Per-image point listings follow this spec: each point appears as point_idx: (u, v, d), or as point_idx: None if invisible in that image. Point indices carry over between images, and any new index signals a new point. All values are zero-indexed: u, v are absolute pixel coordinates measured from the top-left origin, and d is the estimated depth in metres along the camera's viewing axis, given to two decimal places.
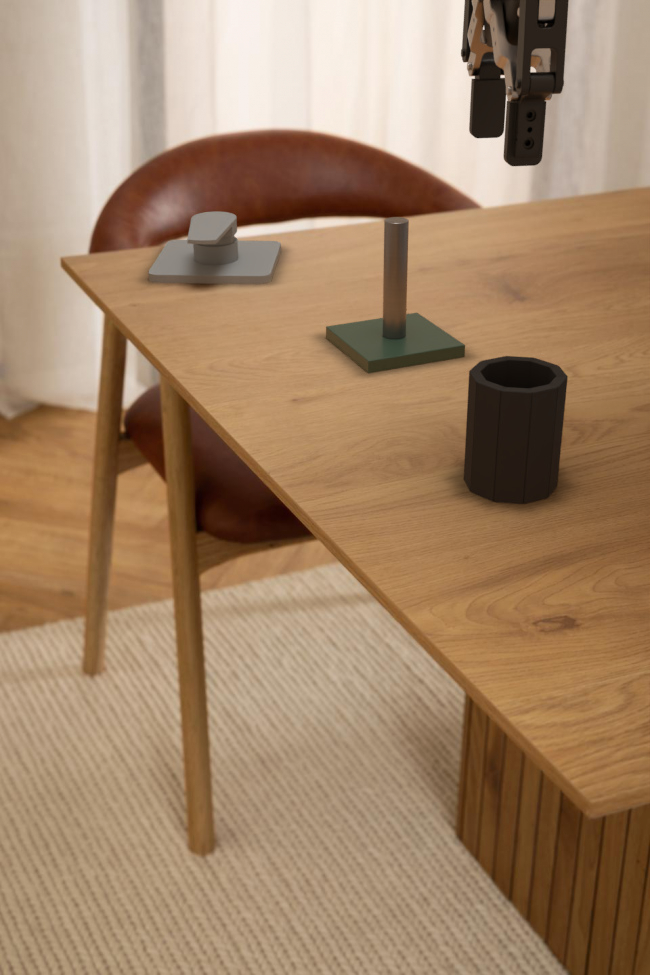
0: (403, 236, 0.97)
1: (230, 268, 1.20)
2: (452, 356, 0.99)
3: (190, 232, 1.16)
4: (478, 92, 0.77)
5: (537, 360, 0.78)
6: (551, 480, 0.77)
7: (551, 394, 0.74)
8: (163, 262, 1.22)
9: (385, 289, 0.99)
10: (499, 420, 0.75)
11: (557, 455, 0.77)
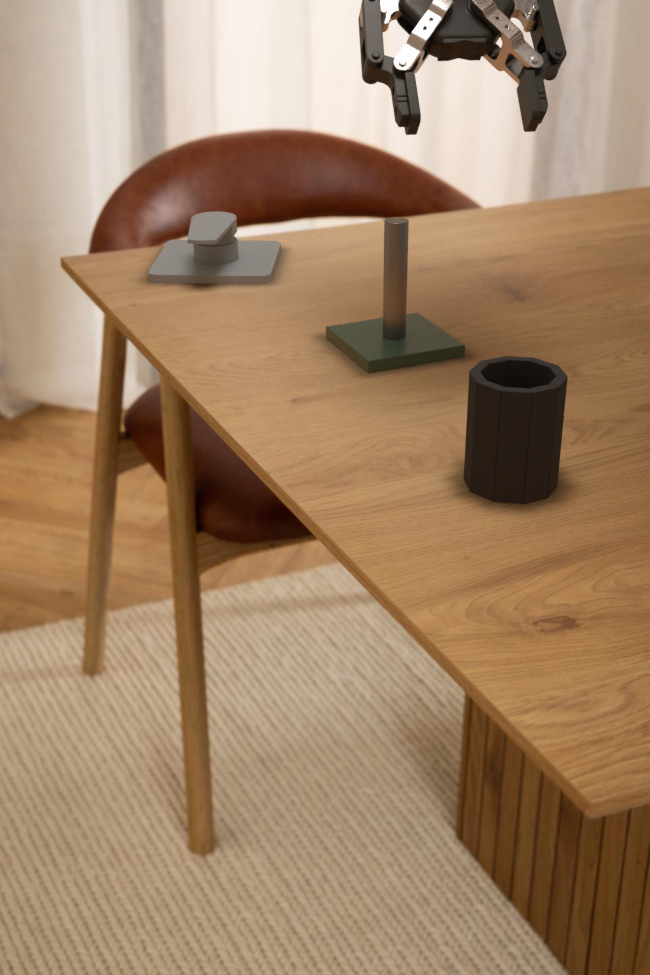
0: (403, 236, 0.97)
1: (230, 268, 1.20)
2: (452, 356, 0.99)
3: (190, 232, 1.16)
4: (519, 96, 0.84)
5: (537, 360, 0.78)
6: (551, 480, 0.77)
7: (551, 394, 0.74)
8: (163, 262, 1.22)
9: (385, 289, 0.99)
10: (499, 420, 0.75)
11: (557, 455, 0.77)
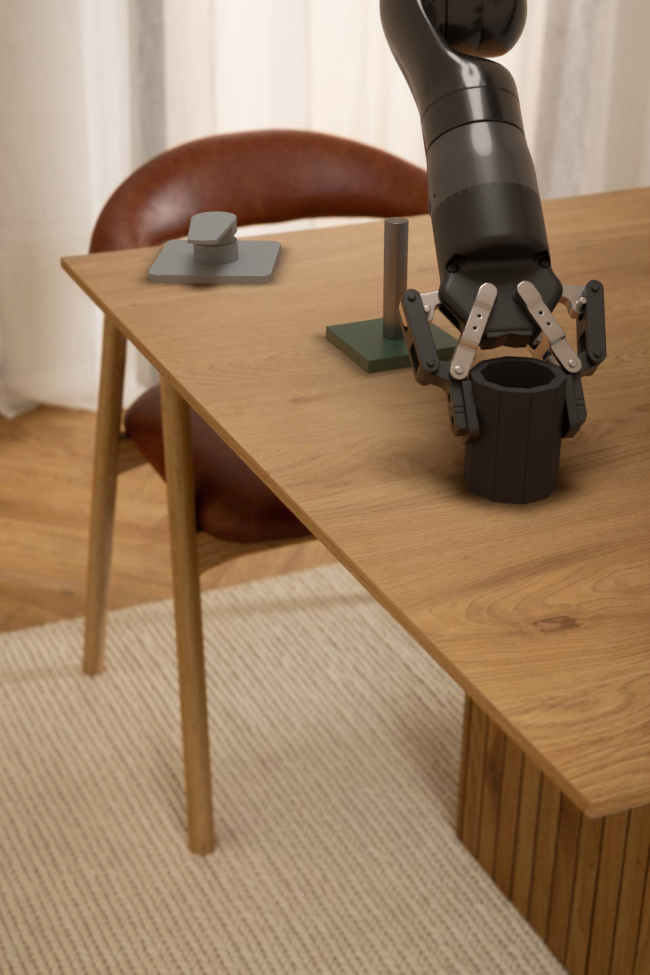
0: (403, 236, 0.97)
1: (230, 268, 1.20)
2: None
3: (190, 232, 1.16)
4: None
5: (537, 360, 0.78)
6: (551, 480, 0.77)
7: (551, 394, 0.74)
8: (163, 262, 1.22)
9: (385, 289, 0.99)
10: (498, 420, 0.75)
11: (557, 455, 0.77)
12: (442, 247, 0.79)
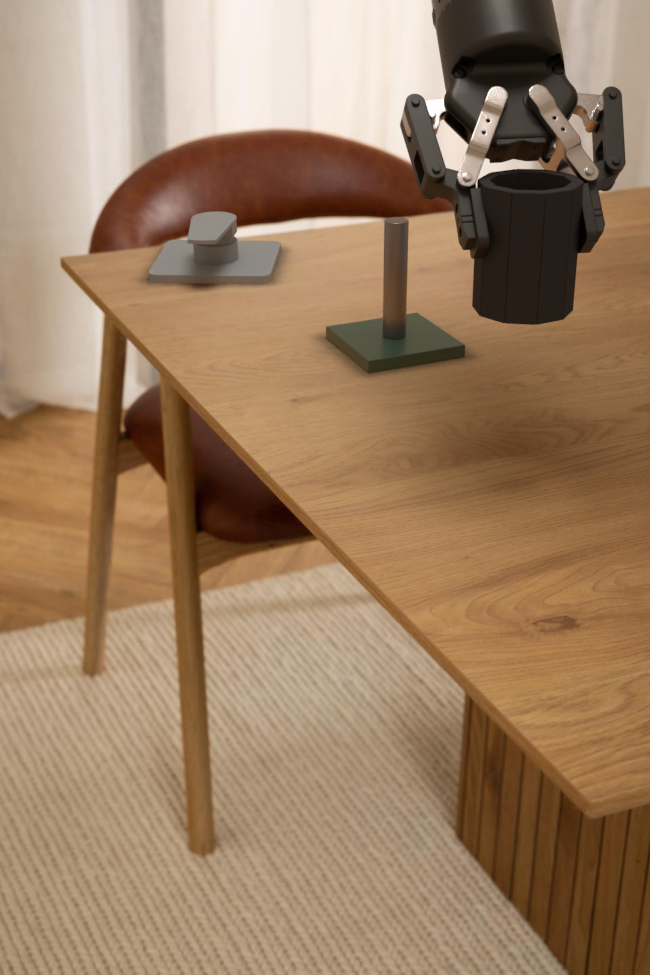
0: (403, 236, 0.97)
1: (230, 268, 1.20)
2: (452, 356, 0.99)
3: (190, 232, 1.16)
4: None
5: (550, 171, 0.73)
6: (566, 298, 0.72)
7: (566, 197, 0.69)
8: (163, 262, 1.22)
9: (385, 289, 0.99)
10: (510, 227, 0.69)
11: (573, 272, 0.72)
12: (447, 52, 0.73)
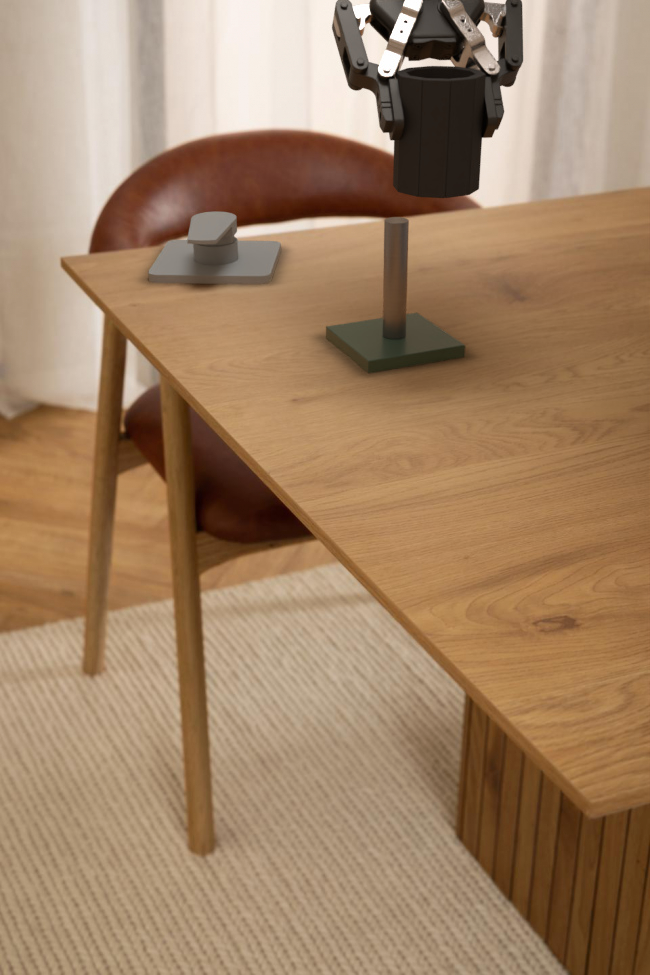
0: (403, 236, 0.97)
1: (230, 268, 1.20)
2: (452, 356, 0.99)
3: (190, 232, 1.16)
4: None
5: (460, 67, 0.84)
6: (472, 176, 0.84)
7: (469, 84, 0.80)
8: (163, 262, 1.22)
9: (385, 289, 0.99)
10: (421, 111, 0.81)
11: (477, 153, 0.84)
12: None
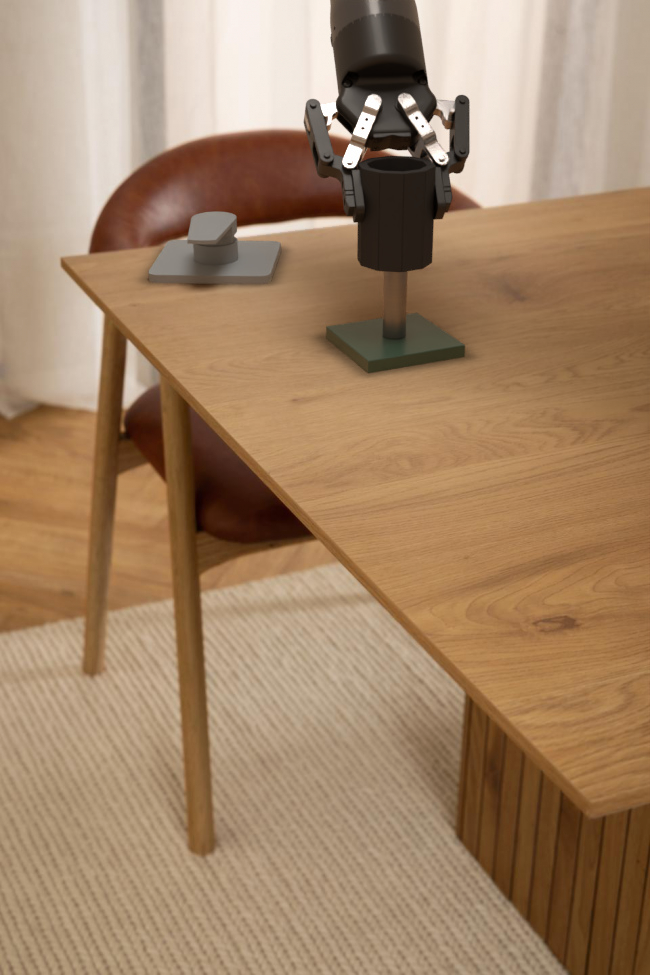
0: None
1: (230, 268, 1.20)
2: (452, 356, 0.99)
3: (190, 232, 1.16)
4: None
5: (414, 157, 0.97)
6: (425, 253, 0.96)
7: (420, 176, 0.93)
8: (163, 262, 1.22)
9: (385, 289, 0.99)
10: (379, 198, 0.93)
11: (429, 233, 0.96)
12: (339, 67, 0.98)
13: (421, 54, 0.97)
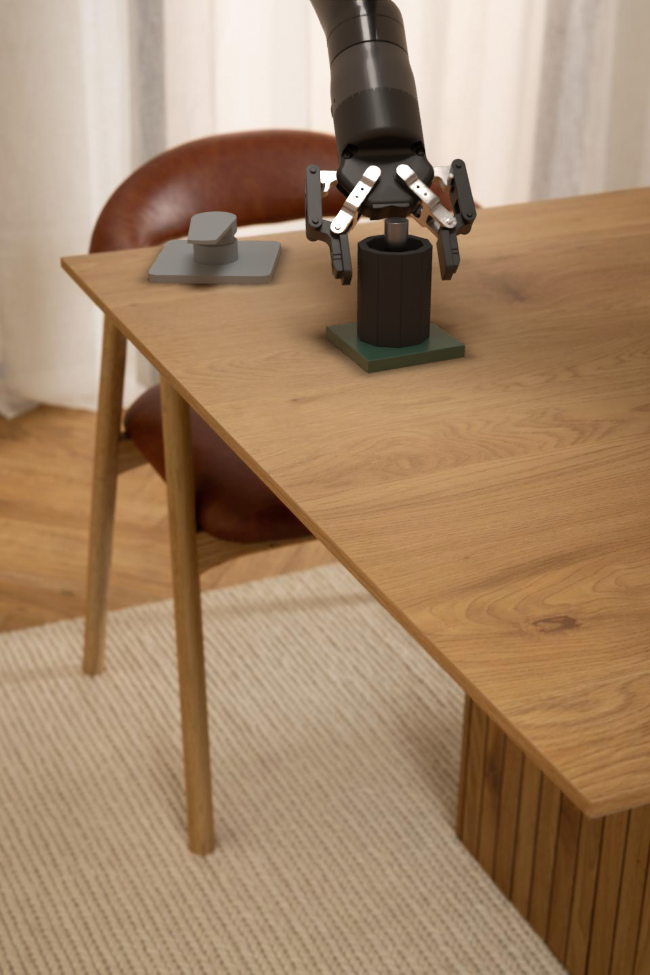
0: (403, 236, 0.97)
1: (230, 268, 1.20)
2: (452, 356, 0.99)
3: (190, 232, 1.16)
4: (438, 249, 1.00)
5: (412, 236, 1.00)
6: (422, 329, 0.99)
7: (417, 257, 0.96)
8: (163, 262, 1.22)
9: None
10: (378, 278, 0.97)
11: (427, 309, 0.99)
12: (339, 139, 1.01)
13: (419, 126, 1.00)
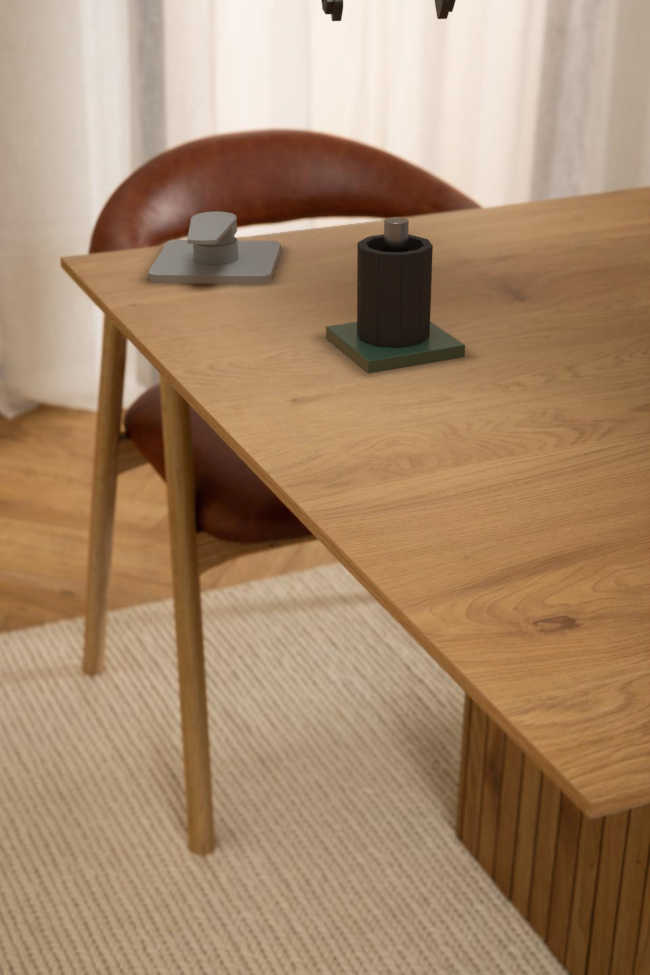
0: (403, 236, 0.97)
1: (230, 268, 1.20)
2: (452, 356, 0.99)
3: (190, 232, 1.16)
4: None
5: (412, 236, 1.00)
6: (422, 329, 0.99)
7: (417, 257, 0.96)
8: (163, 262, 1.22)
9: None
10: (378, 278, 0.97)
11: (427, 309, 0.99)
12: None
13: None
